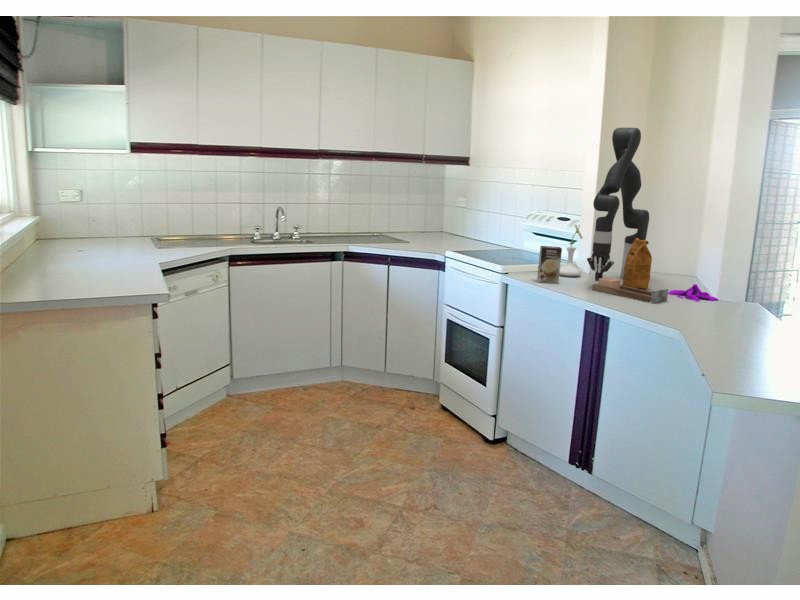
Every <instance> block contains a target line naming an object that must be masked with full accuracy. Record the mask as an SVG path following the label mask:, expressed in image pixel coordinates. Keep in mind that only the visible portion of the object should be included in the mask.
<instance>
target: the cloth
mask: <svg viewBox="0 0 800 600" xmlns="http://www.w3.org/2000/svg"><path fill="white" fill-rule="evenodd" d="M668 294H669V296H676V297H677V298H678V299H686V300H690V301H694V302H698V303H699V302H701V300H705V301H708V302H715V301H719V299H718V298H717V297H715V296H711V295H710V294H709V293H708V292H706V291H702V290H701V289H700V288H699V286H698V284H696V283H694V284H692V286H691V287H690V288H688V289H686V290H681V289H673V290H670V291H668Z"/></svg>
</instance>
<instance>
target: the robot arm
mask: <svg viewBox="0 0 800 600" xmlns="http://www.w3.org/2000/svg"><path fill="white" fill-rule="evenodd" d="M611 137H612V138H611V140H612V141H611V142H612V148H613V152H614V156H615V159H616V162H615V163H614V164H613V165H612V166H611V167H610V168H609V170H608V171H607V174H606V176H605V181H604V183H603V185H602V186H601V188H600V190H599V191H598V192H597V194H596V195H595V196H594V199H593V208H594V210H595V211H598V212H605V213H607V214H606V215H605V216H600V217H597V218H596V220H595V229H594V233H593V234H594V235H593V239H592V240H593V241H592V242H593V243H592V254H591V256H590V257H587V258H586V260H587V263H588V264H589V267H590V268H591V270H592V271H594V272H595V273H594V274H595V275H594V280H595V282H596V281H597V282H598V281H599V278H603V276H604V273H606V272H608V271H609V270H610V269H611V268H612V266H614V264H615V262H614V261H612V260H611V256H610V254H611V249H612V240H613V228H614V227H613V225H614V220H615V218H616V215H617V212H618V211H619V208H620V201H621V202H622V203H621V204H622V218H623V219H622V221H623V225H624V227H625V228H627V229H631V230H632V229H633V230H635V229H636V230H637V231H636V232H635V233H633V234H630V235H626V236H625V237H624V243H623V252H622V261H621V270H620V279H621V280H623V275H624V266H625V262H626V258H627V254H628V252H629V250H630V248H631V246H632V244H633V242H634V241H635V239H636V238H638V239H639V240H645V241H647V235H648V228H649V223H650V212H649V211H648V210H646V209H639V208H638V209H637V208H634V207H633V201H634V200H635V198H636V197H637V195H638V193H639V192H640V190H641V188H642V177H641V171H640V170H639V168H638V166H637V165H636V164H635V163H634V162H633V159H634V156H635V154H636V152H637V150H638V148H639V146H640V143H641V140H642V133H641V129H639V128H638V127H617V128H615V129H614V130H613V132H612V136H611ZM619 191H620V193H621V200H620V198H619V197H618V196H617V195H611V194H617V193H619Z"/></svg>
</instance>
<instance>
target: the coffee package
mask: <svg viewBox="0 0 800 600" xmlns="http://www.w3.org/2000/svg"><path fill="white" fill-rule="evenodd" d="M648 245H649V241H648V240H639V239H638V238H636V239H635V241H634V242H633V244H632V246H631V248H630V250H629V252H628V254H627V258H626V262H625V266H624V275H623V279H622V284H621V286H626V287H631V288H636V289H641V290H645V289H649V284H650V280H651V271H652V269H651V268H652V260H653V257H652V255H651V252H650V250H649V247H648Z"/></svg>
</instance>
